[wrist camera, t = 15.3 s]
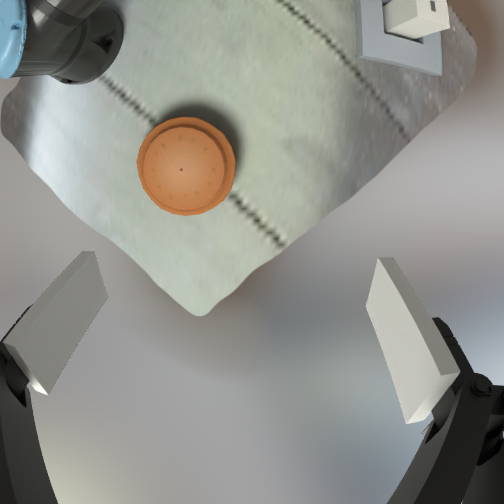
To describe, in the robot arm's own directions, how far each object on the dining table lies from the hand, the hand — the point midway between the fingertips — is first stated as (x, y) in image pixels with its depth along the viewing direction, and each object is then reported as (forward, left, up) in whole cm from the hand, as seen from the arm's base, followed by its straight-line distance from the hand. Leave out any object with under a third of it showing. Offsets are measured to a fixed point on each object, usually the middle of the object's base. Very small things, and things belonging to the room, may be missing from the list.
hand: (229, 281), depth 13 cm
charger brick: (-10, +32, -34) cm, 48 cm away
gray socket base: (-10, +32, -35) cm, 48 cm away
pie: (-4, -10, -35) cm, 37 cm away
